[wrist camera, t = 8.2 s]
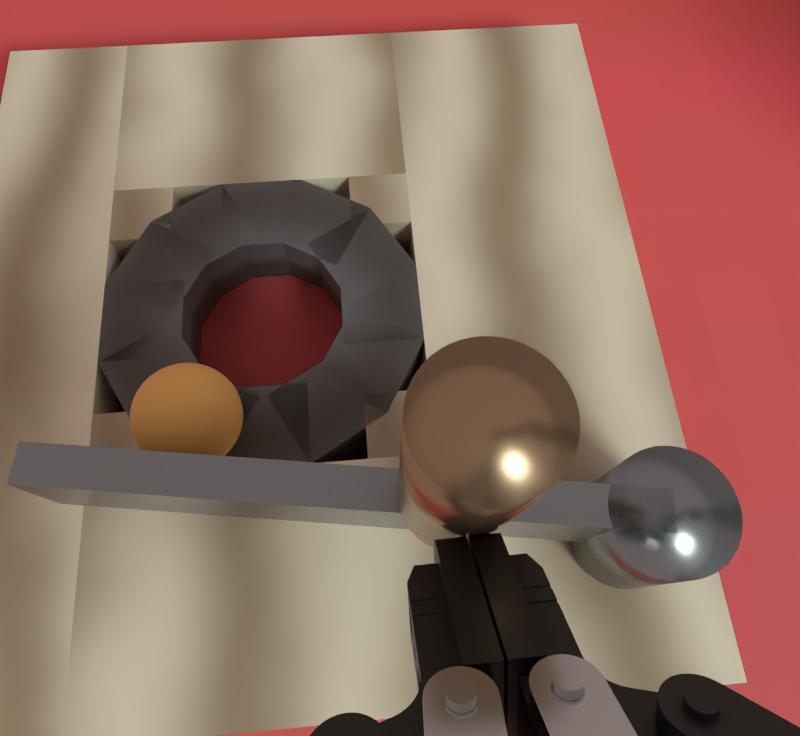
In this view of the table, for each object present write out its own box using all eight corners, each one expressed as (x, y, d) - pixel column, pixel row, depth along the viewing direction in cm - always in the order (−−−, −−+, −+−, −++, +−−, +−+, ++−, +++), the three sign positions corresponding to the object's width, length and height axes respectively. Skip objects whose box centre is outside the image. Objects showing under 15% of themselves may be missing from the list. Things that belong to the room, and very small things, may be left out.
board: (563, 66, 32) (577, 23, 30) (709, 676, 22) (747, 682, 20) (38, 94, 31) (10, 51, 29) (-66, 753, 21) (-123, 769, 19)
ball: (253, 452, 23) (247, 355, 23) (237, 480, 19) (228, 366, 19) (153, 458, 23) (145, 360, 22) (118, 488, 19) (107, 372, 19)
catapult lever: (669, 482, 22) (930, 351, 11) (679, 593, 21) (985, 561, 10) (97, 441, 22) (-169, 274, 12) (70, 548, 21) (-258, 470, 10)
